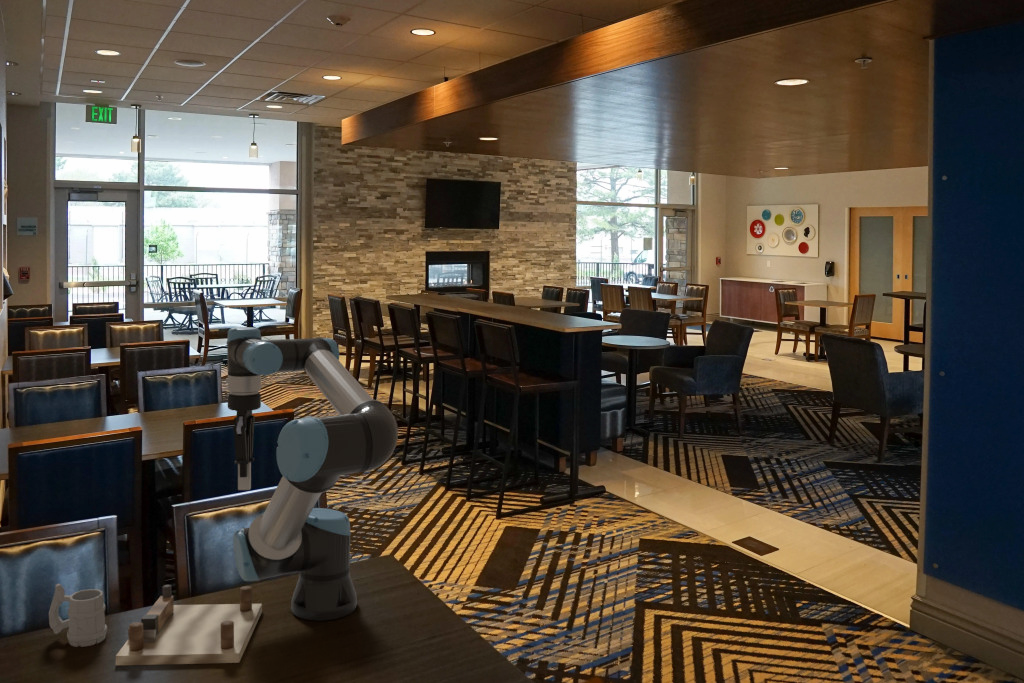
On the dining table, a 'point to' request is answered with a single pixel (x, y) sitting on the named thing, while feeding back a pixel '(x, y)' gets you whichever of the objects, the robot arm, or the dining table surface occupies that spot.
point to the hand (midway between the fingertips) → (244, 489)
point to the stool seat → (195, 635)
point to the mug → (80, 616)
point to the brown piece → (159, 611)
